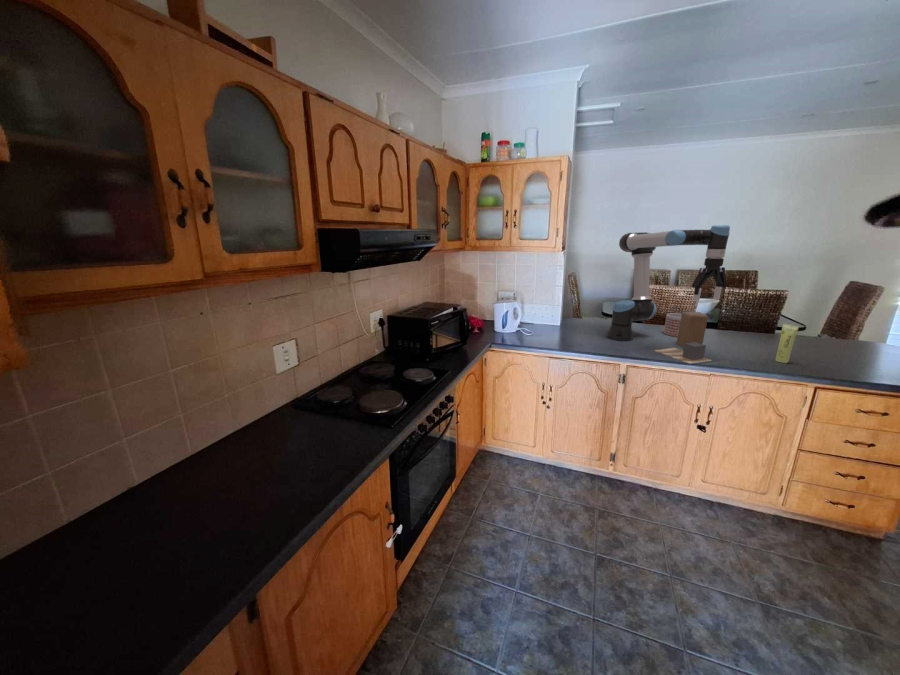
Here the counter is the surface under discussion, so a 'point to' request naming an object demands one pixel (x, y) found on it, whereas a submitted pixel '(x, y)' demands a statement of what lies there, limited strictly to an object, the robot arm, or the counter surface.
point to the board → (678, 355)
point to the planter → (672, 324)
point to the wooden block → (692, 328)
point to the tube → (786, 342)
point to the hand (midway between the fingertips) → (706, 300)
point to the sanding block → (693, 351)
